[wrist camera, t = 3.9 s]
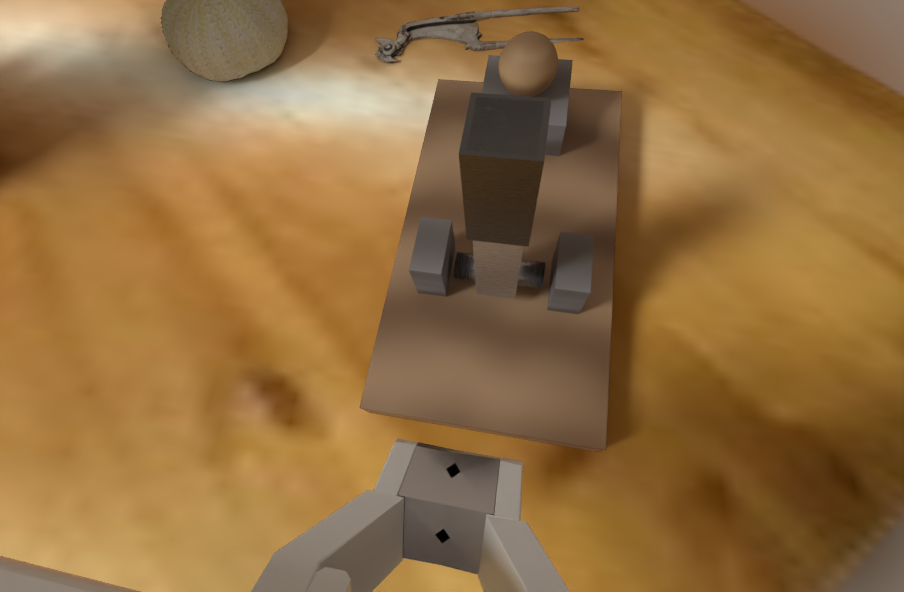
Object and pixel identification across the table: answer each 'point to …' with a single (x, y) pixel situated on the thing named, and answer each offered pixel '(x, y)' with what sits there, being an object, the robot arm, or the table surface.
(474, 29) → the nutcracker
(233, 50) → the sea urchin shell
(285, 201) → the table surface
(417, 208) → the nutcracker bench
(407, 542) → the robot arm
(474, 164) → the lever
